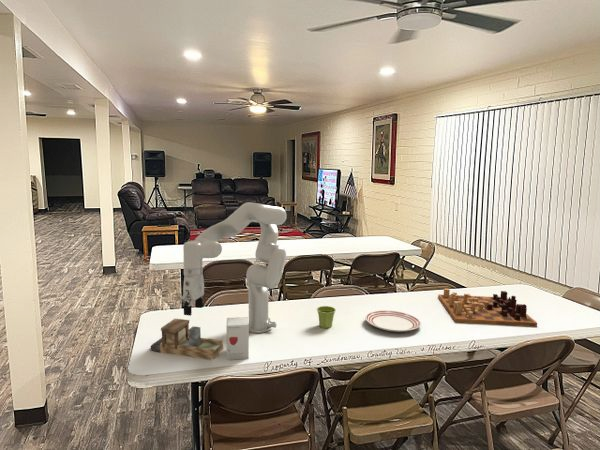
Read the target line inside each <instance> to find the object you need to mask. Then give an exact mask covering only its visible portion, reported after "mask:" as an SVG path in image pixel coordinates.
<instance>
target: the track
mask: <svg viewBox="0 0 600 450" xmlns="http://www.w3.org/2000/svg"><path fill="white" fill-rule="evenodd" d="M189 325H190V319H183V318H174V319H171V320H170V321H169V322H168V323H166V324H164V325H162V327H160V331H161V338H159V339H158V340H156V341H155V342H153V343H152V344H151V345H150V352H153V353H161V354H169V355H174V356H175V355H176V356H183V357H190V358H191V357H192V358H196V357H197V359H204V360H205V359H206V360H212V361H213V360H215V358H216V357H218V355H219V354H220V353H221V352H222V351H223V350H224V340H220V339H212V338H206V337H205V338H204V337H201V342H202V343H201V344H200V345H199V346H198V347H193V346H185V345H179V337H178V331H179V330H180V329H182V328H183V327H185V330H186V340H189V329H190V327H189ZM166 334H174V341H175V344H170V343H166Z"/></svg>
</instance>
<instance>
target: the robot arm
mask: <svg viewBox="0 0 600 450" xmlns="http://www.w3.org/2000/svg"><path fill="white" fill-rule="evenodd" d="M287 215H288V214H287V212H286V210H285V209H284V208H283V207H281V206H273V205H268V204H264V203H256V202H245V203H243V204H241V206H239V207H238V208H237V209H236V210H234V211H233V213H231V214H230V215H228V217H227V218H225V219H224V220H223V221H220V222H218V223H216V224H213V225H211V226H208V228H206V229H205V230H203V231H202V232H201V233H200V234H199V235H198V236H197V237H195V239H194V240H191V241H190V240H189V241H186V242H184V243H183V248H182V249H183V276H184V277H183V287H182V290H183V292H182V293H183V294H182V296H181V303H182V306H183V315H184V316H189V317H190V316H192V302H195V303H194V306H195V308H199V309H201V308H203V306H204V305H203V304H204V303H203V298H204V294H205V282H204V281H205V280H204V275H203V259H215V258H218V257H219V256H220V255H221V254H222V252H223V247H222V245H221V243H220V242H218V241H219V240H222V239H225V238H231V237H234V236H237V235H239V234H240V233H241V232H242V231H243V230H245V228H247V227H248V226H249V225H250V223H259V226H260V235H259V239H258V242H257V247H256V249H255V252H254V253H255V259H257V261H259V262H261V263H263V264H264V265H263V264H258V263H254V264H251V265H250V266H249V267H248V268H247V270H246V275H245V276H246V282H247V288H248V324H249V333H252V334H262V333H263V334H264V333H266V332H269V331H270V330H271V329H272V328H277V323H276V321H271V318H269V298H270V297H269V289H274V288H276V287H277V286H278V285H279V283H280V281H281V279H282V275H283V271H284V267H285V264H286V260H287V253H286V252H287V251H286V249H285V248H284V247H283V246H282V245H279V244H278V243H277V242H278V239H279V228H278V226H280V225H282V224H284V223H285V222H286V220H287ZM265 264H267V265H265Z"/></svg>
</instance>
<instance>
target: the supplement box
mask: <svg viewBox="0 0 600 450" xmlns="http://www.w3.org/2000/svg"><path fill="white" fill-rule="evenodd" d="M248 323H249V316H243V317H242V316H241V317H238V316H237V317H235V316H234V317H227V318H226V359H227V360H226V361H228V360H229V361H232V360H247V359H249V358H250V357H249V347H250V346H249V345H250V343H249V342H250V341H249V340H250V339H249V337H250V335H249V333H250V332H249V324H248Z"/></svg>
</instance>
